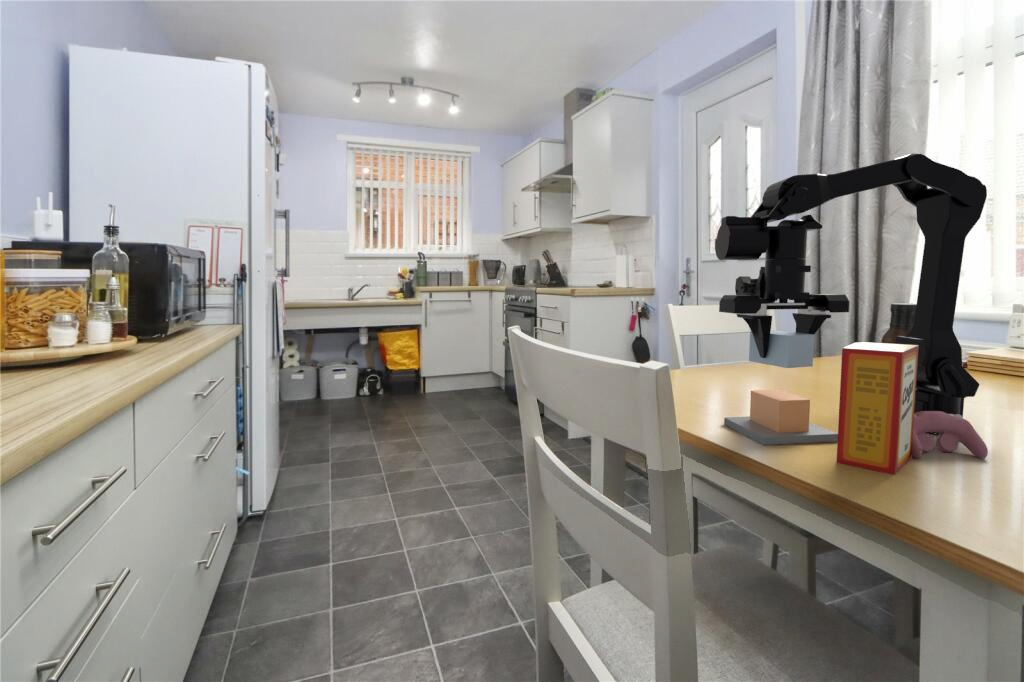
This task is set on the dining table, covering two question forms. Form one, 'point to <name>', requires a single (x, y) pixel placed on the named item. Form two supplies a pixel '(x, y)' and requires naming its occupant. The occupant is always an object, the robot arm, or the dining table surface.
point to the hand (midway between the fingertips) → (780, 357)
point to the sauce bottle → (900, 321)
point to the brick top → (785, 350)
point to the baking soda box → (877, 405)
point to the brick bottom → (780, 410)
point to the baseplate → (773, 437)
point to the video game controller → (945, 434)
